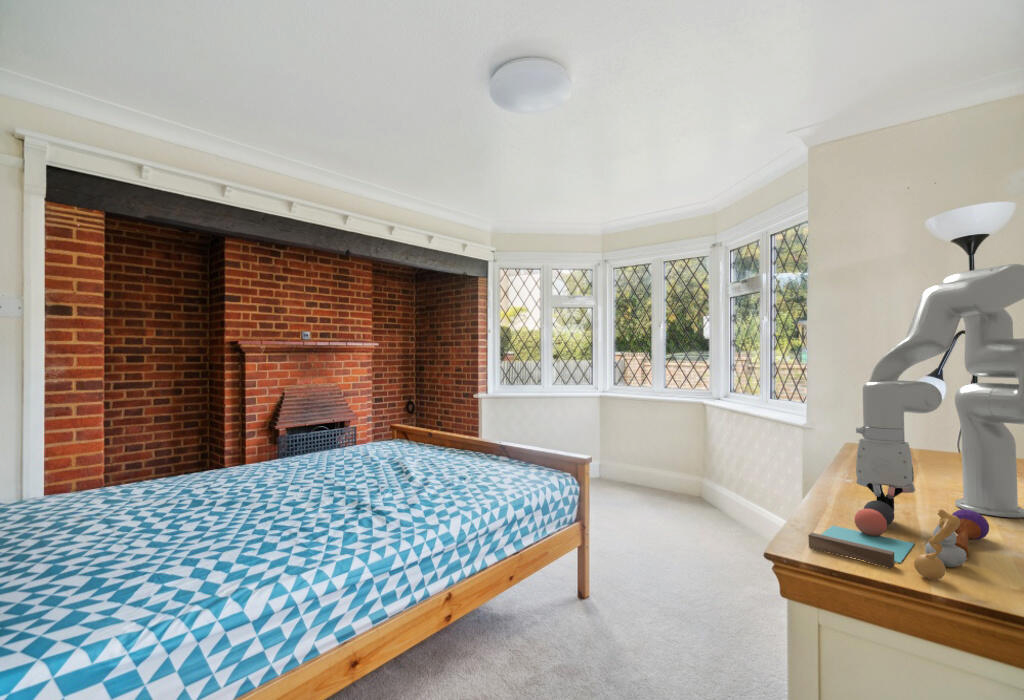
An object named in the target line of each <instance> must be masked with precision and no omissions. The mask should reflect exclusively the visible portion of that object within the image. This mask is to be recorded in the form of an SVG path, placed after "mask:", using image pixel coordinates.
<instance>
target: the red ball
mask: <svg viewBox="0 0 1024 700" xmlns="http://www.w3.org/2000/svg"><path fill="white" fill-rule="evenodd" d="M854 524H855V527H856V528H857V529H858V531H860V532H862V533H864V534H866V535H869V536H882V535H884V533H885V532H886V531H887V529H888V528H887V527H888V525H887V522H886V519H885V518H884V516H883V515H882V514H881V513H879V512H878V511H876V510H873V509H864V508H863V509H862V508H861V509H860V510H858V511H857V512H856V514H855V515H854Z"/></svg>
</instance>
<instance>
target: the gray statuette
mask: <svg viewBox="0 0 1024 700" xmlns="http://www.w3.org/2000/svg"><path fill="white" fill-rule="evenodd" d="M939 531H940V525H939V524H937V525H936V527H935V528H934V530H933V534H932V535H933V536H932V537H934V536H935V535H936V534H937V533H938V532H939ZM956 536H957V534H956V533H955V532H954V531H953V532H952V534H951V535H950V536H948V537H947V538H946V539H944V540H943V541H942V542H939V544H941V545H942V551H941V552H940V553H939V554H938V555H937V558H939V559H940V560H941V561H942V562H943V564H944V566H945V568H946V567H947V568H957V567H959V566H961V565H963V564H965V562H966V561H967V559H966V556H967V554H966V552H965V550H963V549H961V548H959V547H958V546H955V543H956ZM934 545H935V544H934ZM924 549H925V554H929V553H934V552H936V550H934V549H933V547H932V546H931V545H930V544H929V541H928V542H927V543H926V544H925V547H924Z"/></svg>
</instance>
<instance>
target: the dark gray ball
mask: <svg viewBox="0 0 1024 700" xmlns="http://www.w3.org/2000/svg"><path fill="white" fill-rule="evenodd" d="M863 509H873V510H876V511H878V512H879V513H881V514H882V515H883V516H884V518H885V519H886V522H887V526H890V525H891V524H892V523H894V520H895V511H894V512H893V510H892V508H891V507H890V506H889V505H888V504H886V503H884V502H882V501H877V499H875V500H871V501H868V502H867V503H865V505H863Z"/></svg>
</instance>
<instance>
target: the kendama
mask: <svg viewBox="0 0 1024 700" xmlns="http://www.w3.org/2000/svg"><path fill="white" fill-rule="evenodd" d="M951 515H954V516H956V517H958V518H959V519H960V525H959V527H958V528H957V529H956V530H955V531H954V532H955V534H956V543H955V546H958V547H959V548H961V549H963V550H965V552H966V554H967V556H966V560H968V558H969V556H970V551H969V545H970V544H969V541H971V540H972V541H973V540H982V539H984V538H986V536H987V535H988V534H989V532H990V524H989V522H988V520H987V518H985V516H983V514H981V513H977V512H975V511H972V510H966V509H957V510H955V511H954V512H952V514H951Z"/></svg>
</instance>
